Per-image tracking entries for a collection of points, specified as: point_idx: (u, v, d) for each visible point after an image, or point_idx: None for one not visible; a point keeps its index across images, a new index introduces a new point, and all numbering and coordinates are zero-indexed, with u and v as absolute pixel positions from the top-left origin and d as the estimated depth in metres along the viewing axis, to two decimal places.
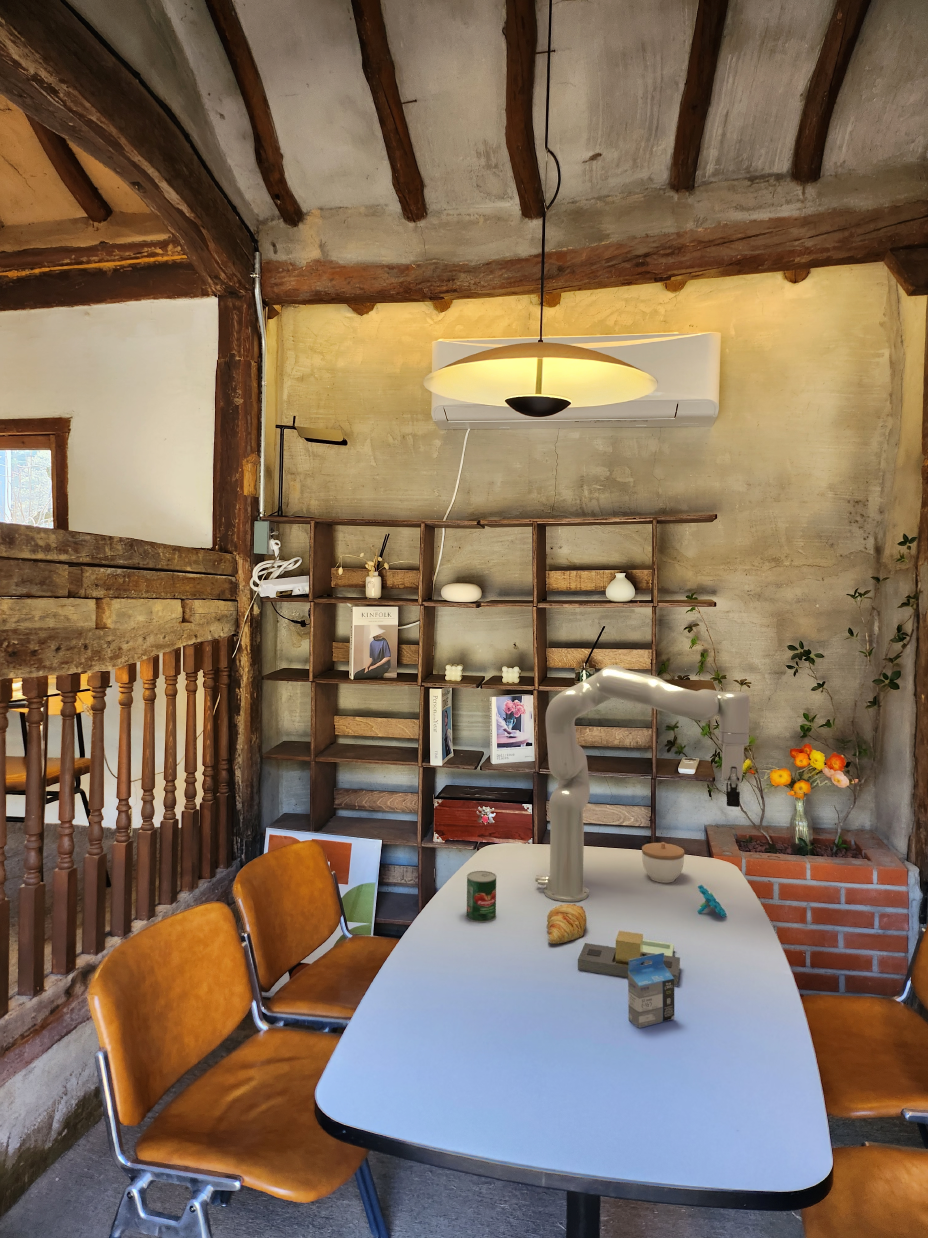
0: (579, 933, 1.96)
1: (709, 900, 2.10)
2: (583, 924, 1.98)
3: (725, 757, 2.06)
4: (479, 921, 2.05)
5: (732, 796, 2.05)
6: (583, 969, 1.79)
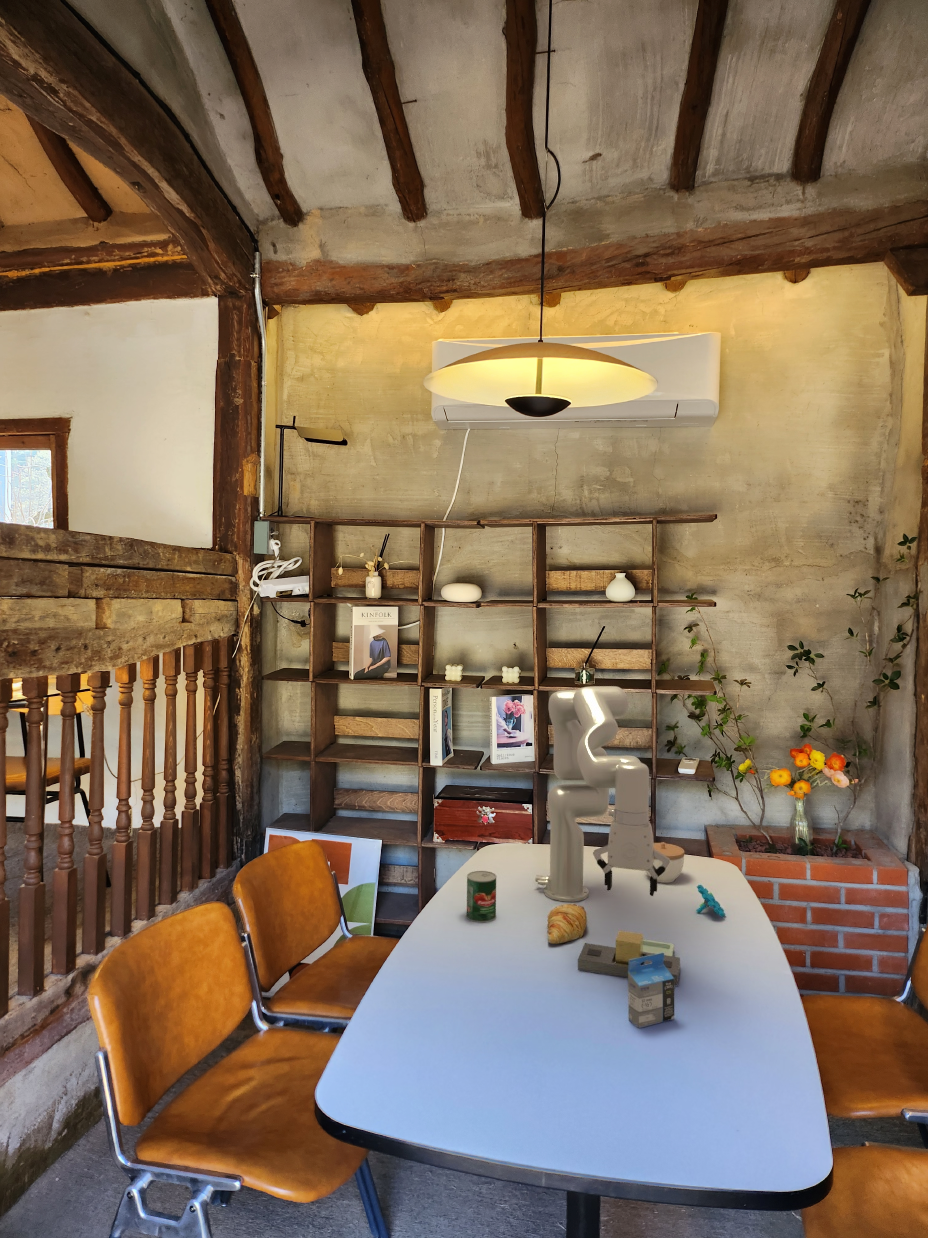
0: (579, 933, 1.96)
1: (708, 900, 2.10)
2: (583, 924, 1.98)
3: (651, 841, 1.76)
4: (479, 921, 2.05)
5: (656, 882, 1.77)
6: (583, 969, 1.79)
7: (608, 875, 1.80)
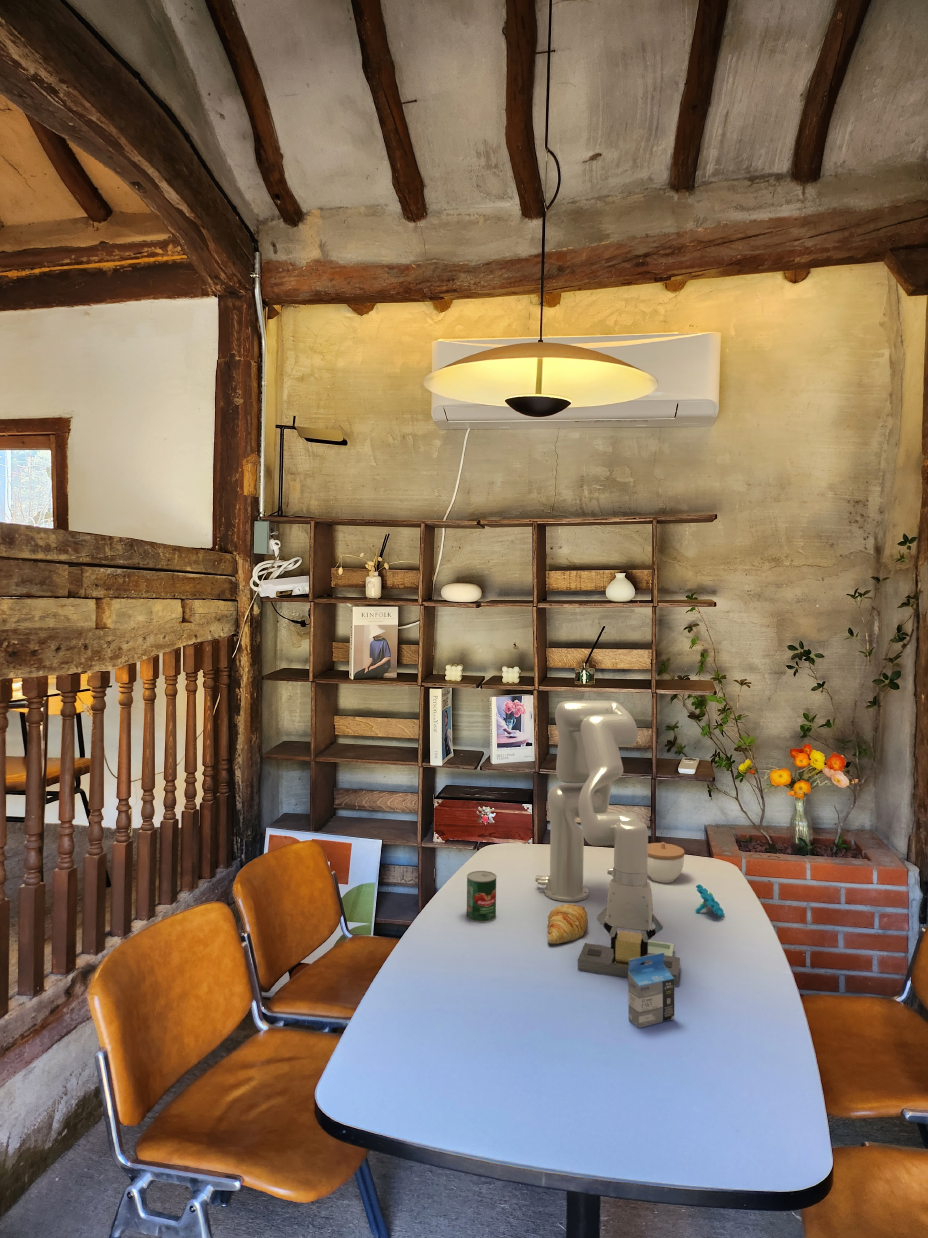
0: (579, 933, 1.96)
1: (706, 899, 2.10)
2: (583, 924, 1.97)
3: (649, 901, 1.76)
4: (479, 921, 2.05)
5: (647, 945, 1.79)
6: (583, 969, 1.79)
7: (615, 939, 1.80)
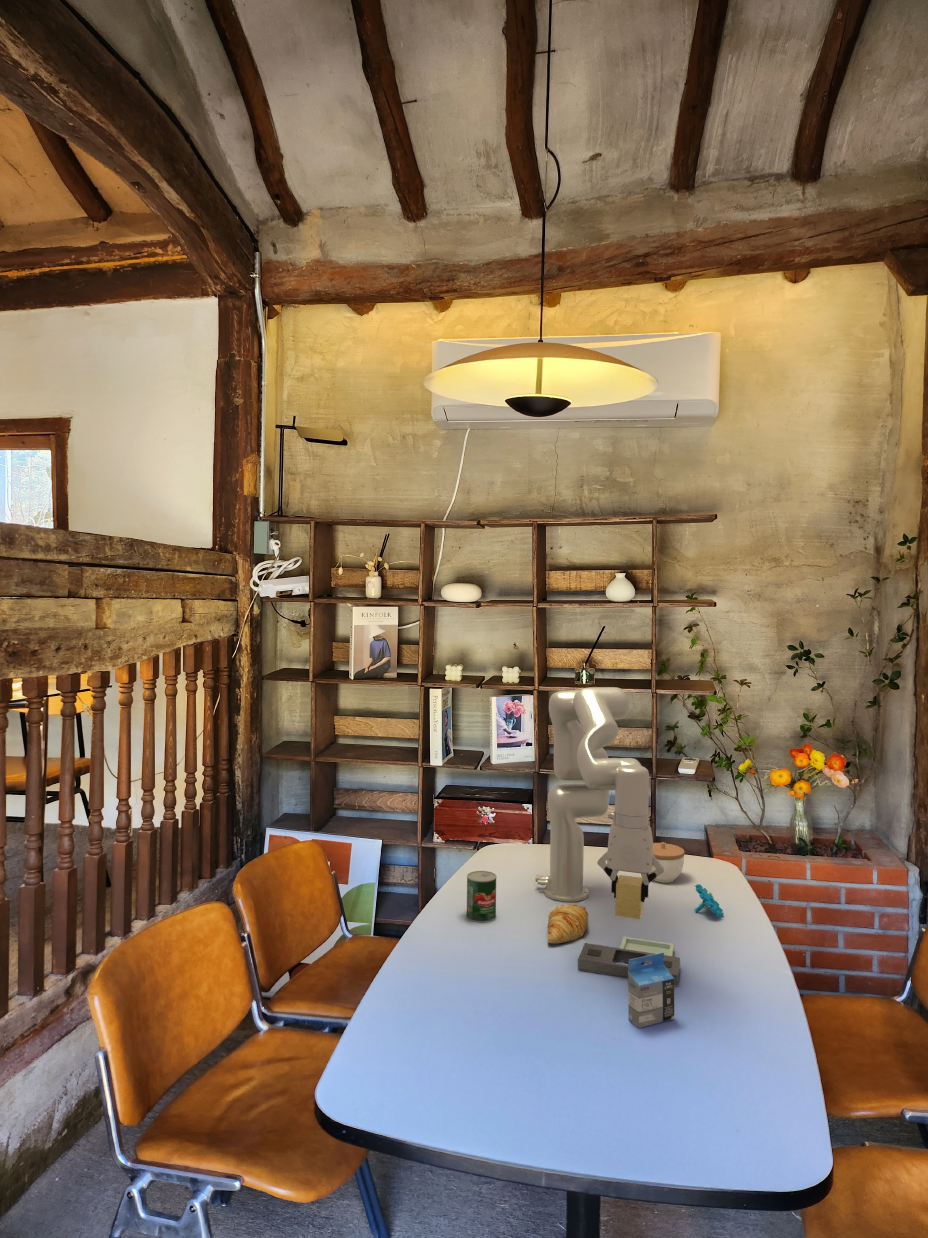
0: (579, 934, 1.96)
1: (705, 899, 2.10)
2: (583, 925, 1.97)
3: (650, 844, 1.76)
4: (479, 921, 2.05)
5: (647, 888, 1.78)
6: (583, 969, 1.79)
7: (615, 883, 1.79)
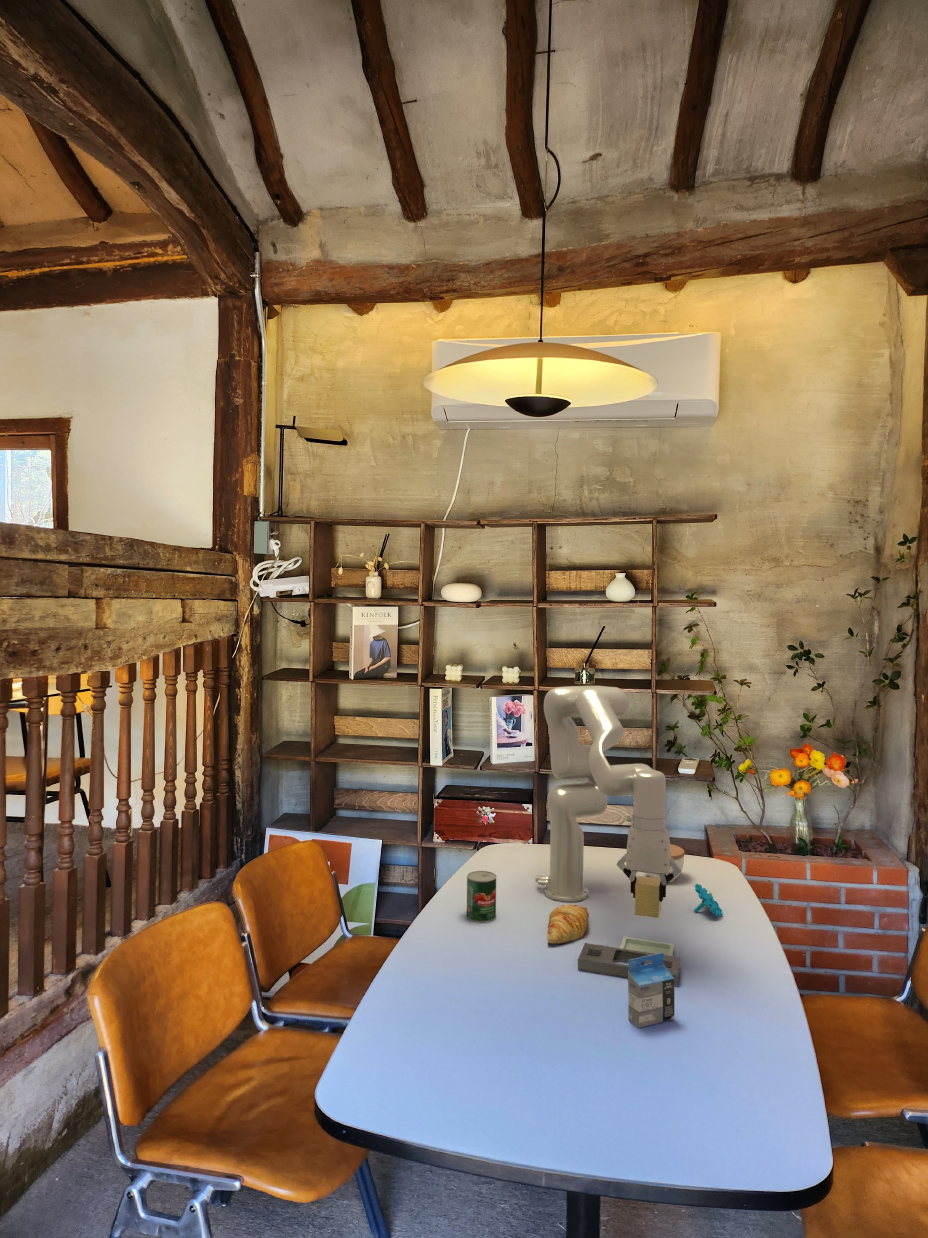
0: (579, 934, 1.96)
1: (704, 899, 2.10)
2: (584, 925, 1.97)
3: (668, 845, 1.84)
4: (479, 921, 2.05)
5: (665, 888, 1.86)
6: (583, 969, 1.79)
7: (634, 883, 1.87)
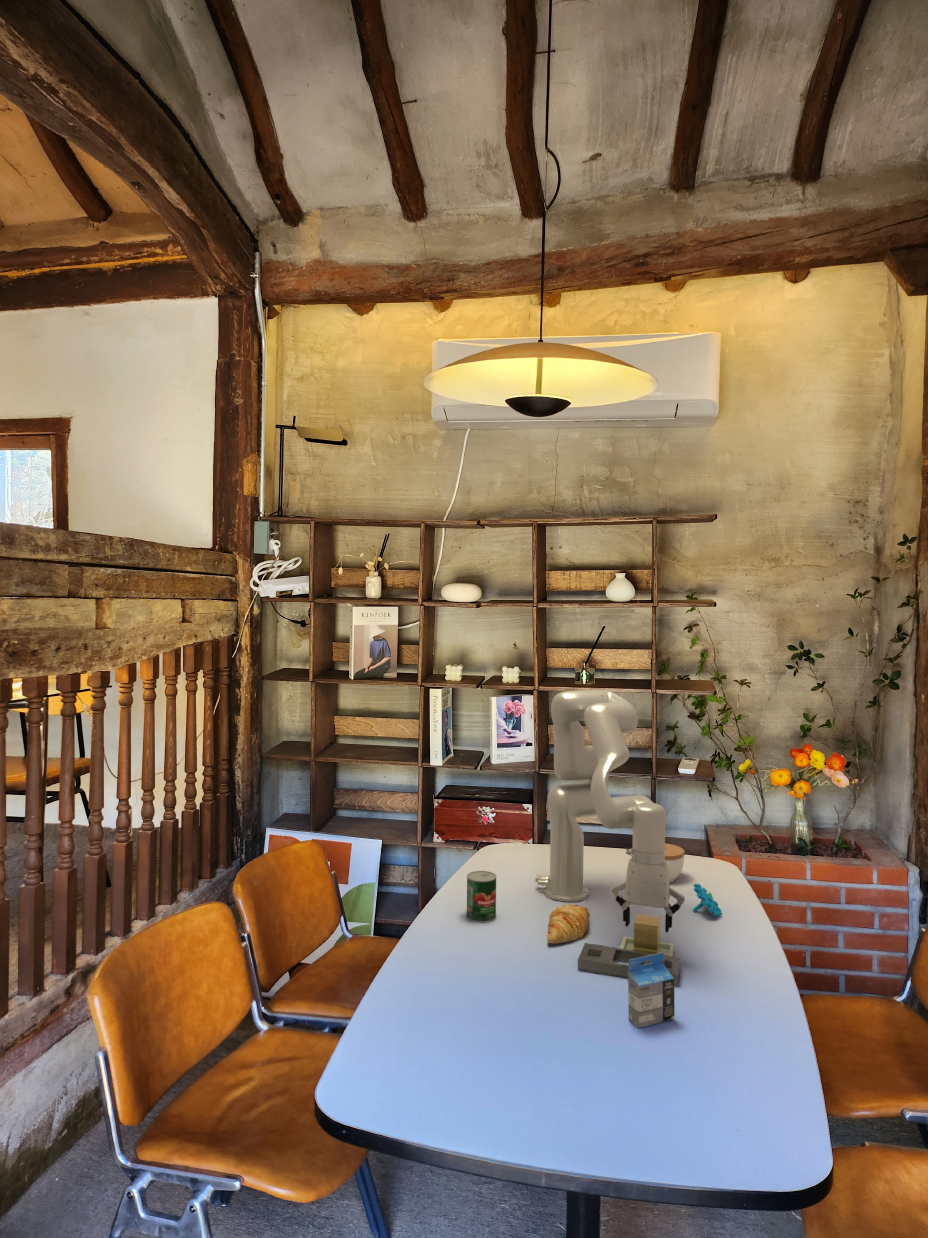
0: (579, 934, 1.96)
1: (703, 899, 2.10)
2: (584, 925, 1.97)
3: (667, 879, 1.84)
4: (479, 921, 2.05)
5: (671, 919, 1.86)
6: (583, 969, 1.79)
7: (626, 912, 1.88)
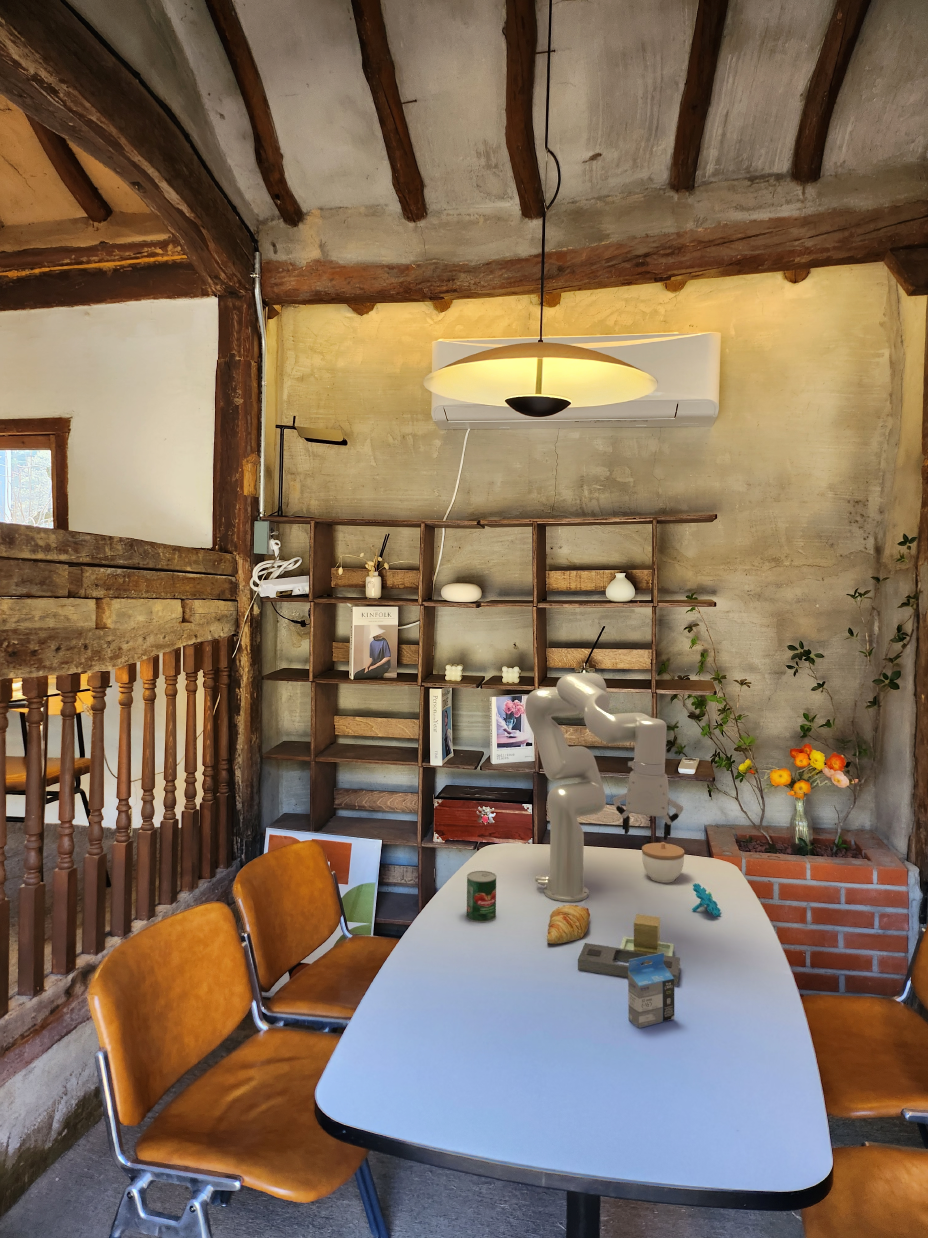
0: (579, 934, 1.96)
1: (702, 898, 2.11)
2: (584, 925, 1.97)
3: (666, 790, 1.92)
4: (479, 921, 2.05)
5: (670, 828, 1.94)
6: (583, 969, 1.79)
7: (626, 820, 1.97)
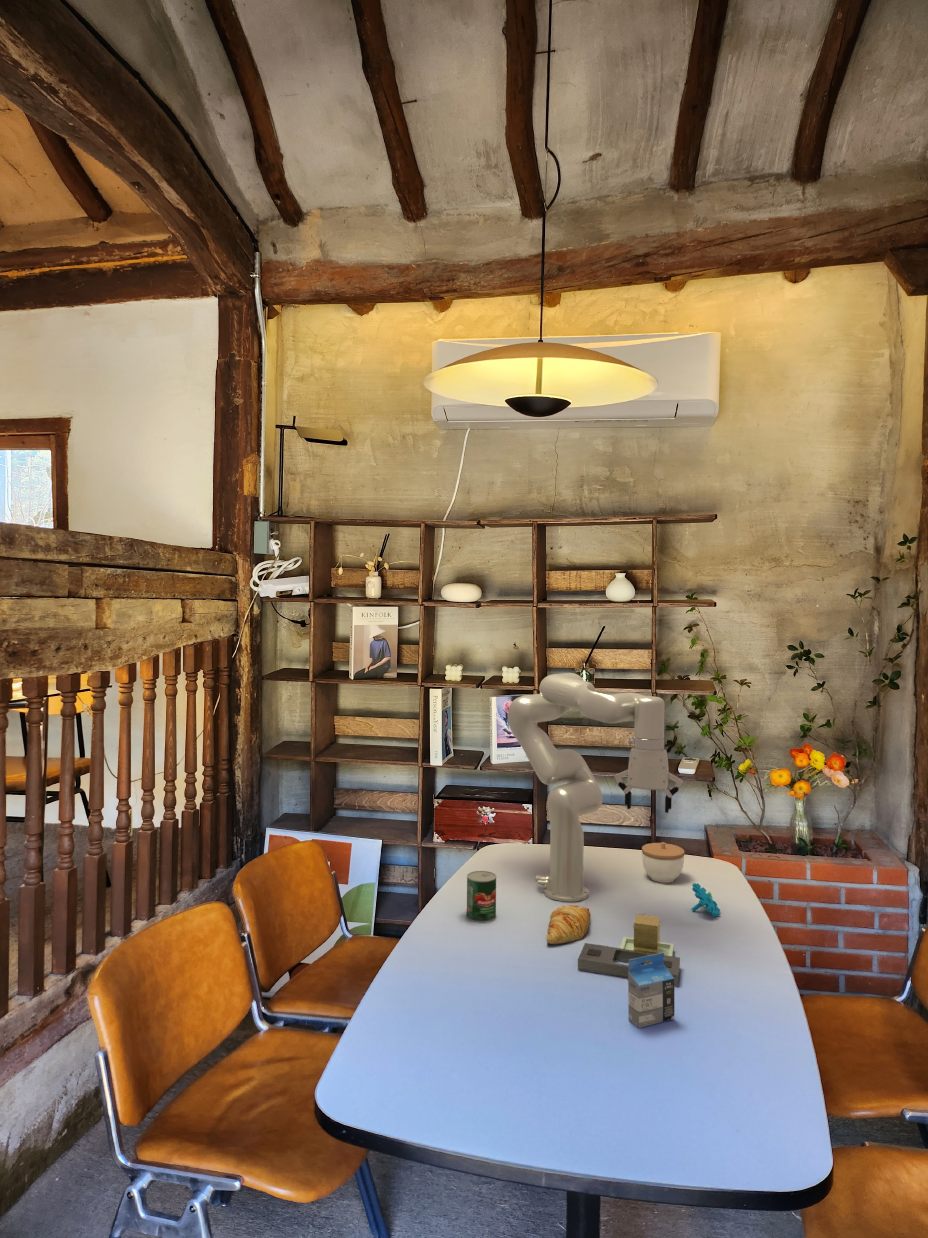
0: (579, 935, 1.96)
1: (701, 898, 2.11)
2: (584, 926, 1.97)
3: (666, 764, 2.00)
4: (479, 921, 2.05)
5: None
6: (583, 969, 1.79)
7: (628, 795, 2.04)
